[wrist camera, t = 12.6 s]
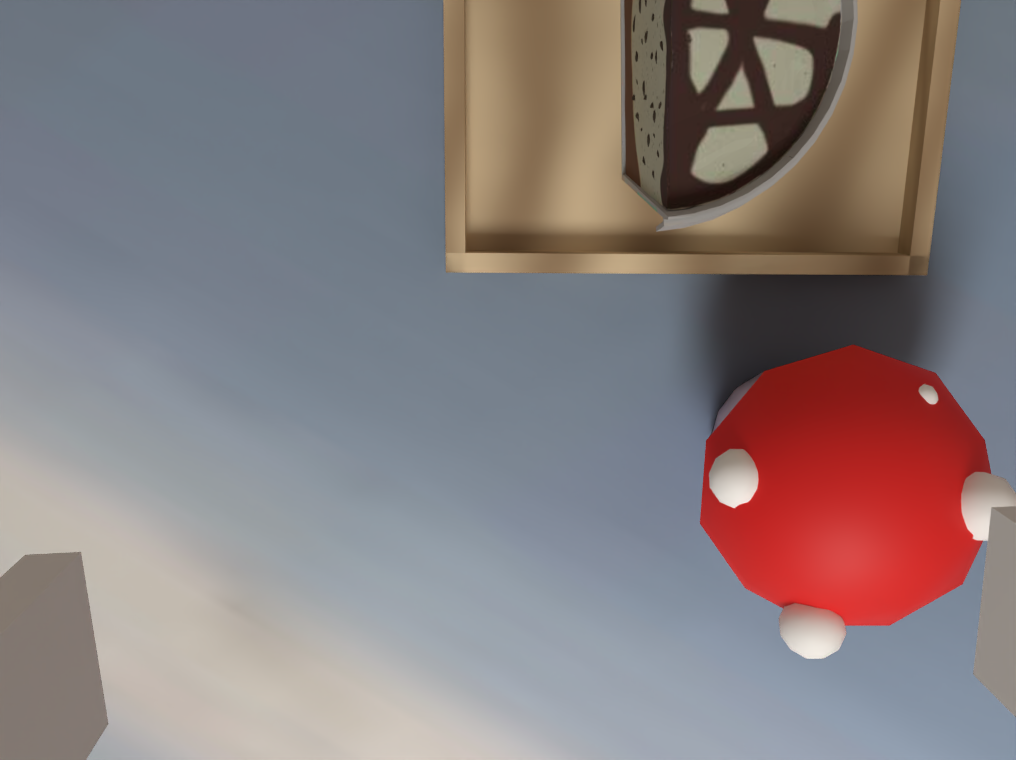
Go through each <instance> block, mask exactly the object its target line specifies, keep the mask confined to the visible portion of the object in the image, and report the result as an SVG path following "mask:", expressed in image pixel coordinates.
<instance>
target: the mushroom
mask: <svg viewBox="0 0 1016 760" xmlns="http://www.w3.org/2000/svg"><path fill="white" fill-rule="evenodd" d="M1007 506H1016V493H1015V492H1014V490H1013V489H1012V487H1011V486H1010V485H1009V483H1008V482H1007V481H1006V479H1004V478H1001V477H998V476H995V475H992V474H991V470H990V465H989V460H988V455H987V449H986V444H985V440H984V439H983V437H982V436H981V434H980V433H979V432H978V430H977V429H976V428H975V426H974V425H973V423H972V422H971V421H970V419H969V418H968V417H967V415H966V414H965V413H964V411H963V410H962V408H961V407H960V406H959V404H958V403H957V402H956V400H955V399H954V397H953V396H952V395H951V393H950V392H949V391H948V389H947V388H946V387H945V385H944V384H943V382H942V381H941V380H940V378H939V377H938V376H937V374H936V373H934V372H931V371H928V370H926V369H923V368H920V367H917V366H914V365H911V364H908V363H905V362H902V361H900V360H897V359H894V358H891V357H888V356H885V355H882V354H879V353H876V352H873V351H871V350H868V349H865V348H862V347H859V346H856V345H850V346H847V347H843V348H840V349H837V350H833V351H830V352H827V353H823V354H820V355H817V356H813V357H810V358H807V359H803V360H800V361H797V362H793V363H790V364H786V365H783V366H780V367H776V368H773V369H770V370H766V371H764V372H763V373H760V374H759V375H757V376H755V377H754V378H752V379H750V380H749V381H747V382H745V383H744V384H742V385H740V386H739V387H737V388H736V389H735V390H734V391H733V393H732V394H731V395H730V397H729V398H728V399H727V401H726V402H725V403H724V404H723V406H722V407H721V408H720V410H719V411H718V414H717V418H716V421H715V425H714V429H713V432H712V434H711V435H710V437H709V438H708V439H707V440H706V450H705V464H704V477H703V491H702V504H701V518H700V524H701V526H702V527H703V528H704V530H705V531H706V533H707V534H708V536H709V537H710V538H711V540H712V541H713V543H714V544H715V546H716V547H717V548H718V550H719V551H720V553H721V554H722V556H723V557H724V558H725V560H726V561H727V563H728V564H729V566H730V567H731V568H732V570H733V571H734V573H735V574H736V576H737V577H738V578H739V580H740V581H741V583H742V584H743V586H744V587H745V588H746V589H748V590H750V591H752V592H753V593H755V594H757V595H759V596H761V597H763V598H765V599H767V600H768V601H770V602H772V603H774V604H776V605H778V606H780V607H782V608H783V610H782V612H781V615H780V617H779V626H780V635H781V636H782V638H783V639H784V641H785V642H786V644H787V645H788V646H789V648H790V649H791V650H792V651H794V652H796V653H798V654H799V655H801V656H803V657H805V658H806V659H823V658H825V657H827V656H829V655H830V654H832V653H834V652H836V651H837V650H839V648H840V646H841V644H842V642H843V640H844V637H845V635H846V629H845V625H891V624H893V623H895V622H896V621H898V620H900V619H902V618H903V617H905V616H907V615H909V614H911V613H912V612H914V611H916V610H918V609H919V608H921V607H923V606H925V605H926V604H928V603H930V602H932V601H934V600H935V599H937V598H939V597H941V596H942V595H944V594H946V593H948V592H949V591H951V590H953V589H955V588H956V587H958V586H960V585H962V584H963V582H964V580H965V578H966V576H967V574H968V572H969V569H970V567H971V565H972V563H973V561H974V559H975V557H976V555H977V553H978V550H979V548H980V546H981V544H982V542H983V540H987V541H988V534H989V525H990V516H991V507H1007Z"/></svg>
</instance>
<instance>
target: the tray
mask: <svg viewBox="0 0 1016 760" xmlns="http://www.w3.org/2000/svg"><path fill="white" fill-rule="evenodd" d="M443 1H444V115H445V229H446V272H465V273H636V274H807V275H927V271H928V263H929V255H930V247H931V239H932V231H933V223H934V215H935V207H936V198H937V190H938V182H939V174H940V166H941V158H942V150H943V142H944V134H945V126H946V117H947V109H948V101H949V93H950V85H951V77H952V69H953V61H954V53H955V45H956V37H957V28H958V20H959V12H960V4H961V0H857V6H858V24H857V32H856V40H855V47H854V55H853V58H852V62H851V66H850V69H849V73H848V76H847V80H846V83H845V86H844V89H843V91H842V93H841V96H840V98H839V100H838V102H837V105H836V107H835V109H834V111H833V114H832V116H831V117H830V119H829V120H828V122H827V124H826V125H825V127H824V128H823V130H822V132H821V133H820V135H819V136H818V138H817V140H816V141H815V143H814V144H813V145H812V146H811V147H810V149H809V150H808V151H807V152H806V153H805V154H804V156H803V157H802V158H801V159H800V160H799V162H798V163H797V164H796V165H795V166H794V167H793V168H792V169H791V170H790V171H788V172H787V173H786V174H785V175H784V176H783V177H782V178H781V179H779V180H778V181H777V182H776V183H775V184H774V185H773V186H771V187H770V188H768V189H767V190H765V191H764V192H762V193H761V194H759V195H758V196H756V197H754V198H753V199H751V200H750V201H748V202H747V203H745V204H744V205H742V206H741V207H739V208H737V209H735V210H733V211H730V212H728V213H726V214H724V215H722V216H719V217H717V218H715V219H713V220H710V221H706V222H703V223H699V224H696V225H692V226H689V227H685V228H680V229H672V230H665V231H657V232H656V226H658V225H659V224H660V223H662V222H663V217H662V216H661V215H660V214H659V213H657V212H656V211H655V210H654V209H653V208H652V207H651V206H650V205H649V204H648V203H647V202H646V201H645V200H644V199H642V198H641V197H640V196H639V195H638V194H637V193H636V192H635V191H634V190H633V189H632V188H631V187H630V186H629V185H627V184H626V183H625V182H624V181H623V180H622V155H621V26H620V0H443Z"/></svg>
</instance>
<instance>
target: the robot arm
mask: <svg viewBox="0 0 1016 760" xmlns="http://www.w3.org/2000/svg"><path fill="white" fill-rule="evenodd" d="M973 674H974V675H975V677H976V678H977V679H978V680H979V681H980V682H981V683H982V684H983V685H984V686H985V687H986V688H987V689H988V690H989V691H990V692H991V693H992V694H993V695H994V696H995V697H996V698H997V699H998V700H999V701H1000V702H1001V703H1002V704H1003V705H1004V706H1005V707H1006V708H1007V709H1008V710H1009V711H1010V712H1011V713H1012V714H1013V715H1014V716H1015V717H1016V506H1007V507H991V516H990V525H989V534H988V543H987V553H986V562H985V571H984V580H983V589H982V599H981V608H980V617H979V626H978V635H977V645H976V654H975V663H974V672H973ZM107 725H108V719H107V713H106V707H105V700H104V694H103V688H102V681H101V675H100V669H99V663H98V656H97V650H96V644H95V638H94V631H93V625H92V619H91V613H90V606H89V600H88V594H87V588H86V581H85V575H84V569H83V562H82V556H81V552H73V553H53V554H33V555H25V556H23V557H22V558H21V559H20V560H19V561H18V562H17V563H16V564H15V565H14V566H13V567H11V568H10V569H9V570H8V571H7V572H6V573H5V574H4V575H3V576H2V577H0V760H86V759H87V757H88V756H89V754H90V752H91V751H92V749H93V747H94V746H95V744H96V743H97V741H98V739H99V738H100V736H101V735H102V733H103V731H104V730H105V728H106V727H107Z"/></svg>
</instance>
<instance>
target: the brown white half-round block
mask: <svg viewBox="0 0 1016 760" xmlns="http://www.w3.org/2000/svg"><path fill="white" fill-rule="evenodd" d="M857 24H858V6H857V0H620V26H621V155H622V180H623V181H624V182H625V183H626V184H627V185H629V186H630V187H631V188H632V189H633V190H634V191H635V192H636V193H637V194H638V195H639V196H640V197H641V198H642V199H644V200H645V201H646V202H647V203H648V204H649V205H650V206H651V207H652V208H653V209H654V210H655V211H656V212H657V213H659V214H660V215H661V216H662V217H663V222H662V223H660V224H659V225H658V226H656V232H657V231H665V230H672V229H680V228H685V227H689V226H692V225H696V224H699V223H703V222H706V221H710V220H713V219H715V218H717V217H719V216H722V215H724V214H726V213H728V212H730V211H733V210H735V209H737V208H739V207H741V206H742V205H744V204H745V203H747V202H748V201H750V200H751V199H753V198H754V197H756V196H758V195H759V194H761V193H762V192H764V191H765V190H767V189H768V188H770V187H771V186H773V185H774V184H775V183H776V182H777V181H778V180H779V179H781V178H782V177H783V176H784V175H785V174H786V173H787V172H788V171H790V170H791V169H792V168H793V167H794V166H795V165H796V164H797V163H798V162H799V160H800V159H801V158H802V157H803V156H804V154H805V153H806V152H807V151H808V150H809V149H810V147H811V146H812V145H813V144H814V143H815V141H816V140H817V138H818V136H819V135H820V133H821V132H822V130H823V128H824V127H825V125H826V124H827V122H828V120H829V119H830V117H831V116H832V114H833V111H834V109H835V107H836V105H837V102H838V100H839V98H840V96H841V93H842V91H843V89H844V86H845V83H846V80H847V76H848V73H849V69H850V66H851V62H852V58H853V55H854V47H855V40H856V32H857Z"/></svg>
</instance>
